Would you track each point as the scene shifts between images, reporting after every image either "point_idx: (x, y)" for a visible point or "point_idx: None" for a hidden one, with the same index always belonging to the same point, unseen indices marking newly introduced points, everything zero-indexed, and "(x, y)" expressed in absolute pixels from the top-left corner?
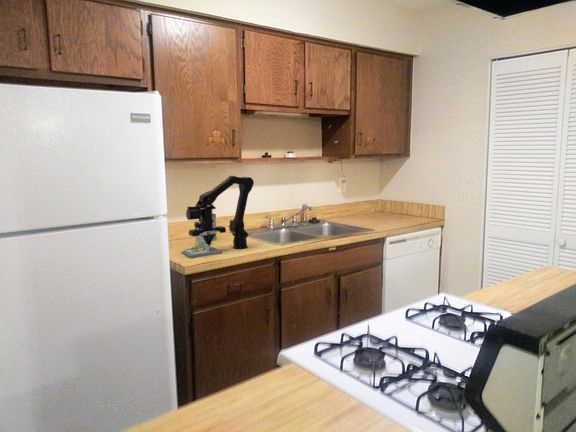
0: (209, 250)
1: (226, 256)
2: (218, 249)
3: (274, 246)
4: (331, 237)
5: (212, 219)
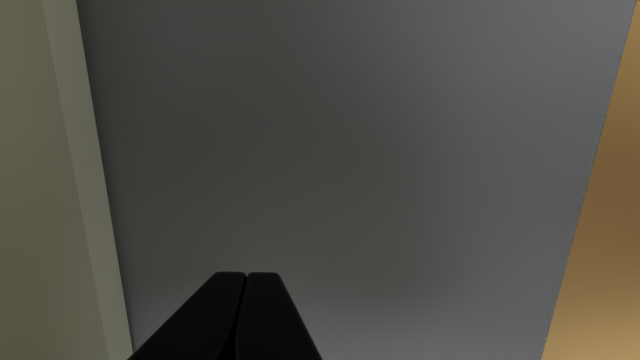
0: None
1: None
2: (550, 317)
3: None
4: None
5: None
